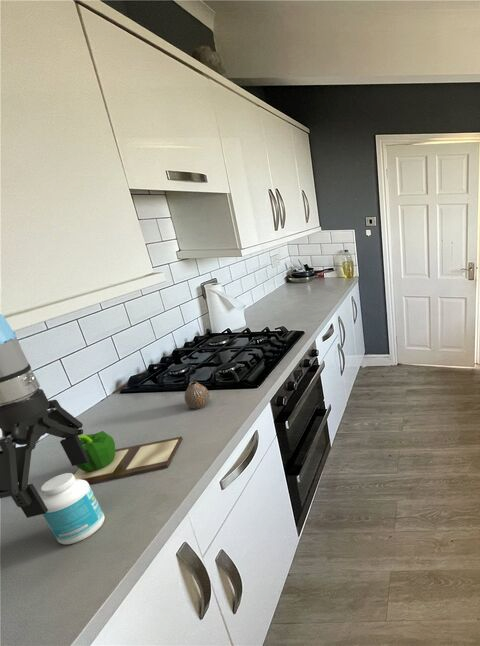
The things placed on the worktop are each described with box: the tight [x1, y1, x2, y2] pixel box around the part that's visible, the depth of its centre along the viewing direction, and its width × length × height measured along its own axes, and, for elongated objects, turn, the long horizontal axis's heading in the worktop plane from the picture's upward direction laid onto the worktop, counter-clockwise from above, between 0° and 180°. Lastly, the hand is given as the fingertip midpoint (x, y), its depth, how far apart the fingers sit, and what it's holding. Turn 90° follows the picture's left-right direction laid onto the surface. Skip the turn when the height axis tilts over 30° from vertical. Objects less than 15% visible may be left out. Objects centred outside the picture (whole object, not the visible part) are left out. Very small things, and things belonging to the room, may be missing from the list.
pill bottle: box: [40, 472, 106, 545], centre depth 72 cm, size 8×7×14 cm
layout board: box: [72, 436, 184, 485], centre depth 93 cm, size 22×12×1 cm, turn 108°
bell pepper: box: [75, 430, 116, 472], centre depth 89 cm, size 8×8×10 cm
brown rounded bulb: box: [183, 381, 210, 410], centre depth 116 cm, size 7×7×9 cm
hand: (61, 486), depth 70 cm, fingers open, 13 cm apart
